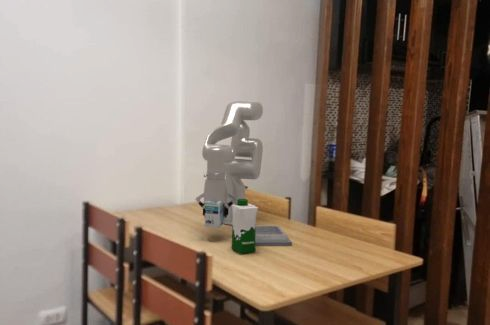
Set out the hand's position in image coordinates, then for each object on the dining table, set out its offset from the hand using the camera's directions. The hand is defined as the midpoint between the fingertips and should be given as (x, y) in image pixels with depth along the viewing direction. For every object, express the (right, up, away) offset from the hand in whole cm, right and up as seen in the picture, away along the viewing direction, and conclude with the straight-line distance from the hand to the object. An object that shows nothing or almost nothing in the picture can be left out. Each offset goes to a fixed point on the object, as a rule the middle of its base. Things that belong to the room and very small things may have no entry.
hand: (215, 216), depth 184 cm
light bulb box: (0, -3, +1) cm, 3 cm away
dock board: (+21, -10, +3) cm, 24 cm away
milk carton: (+12, -12, -13) cm, 22 cm away
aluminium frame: (+21, -9, +3) cm, 23 cm away
